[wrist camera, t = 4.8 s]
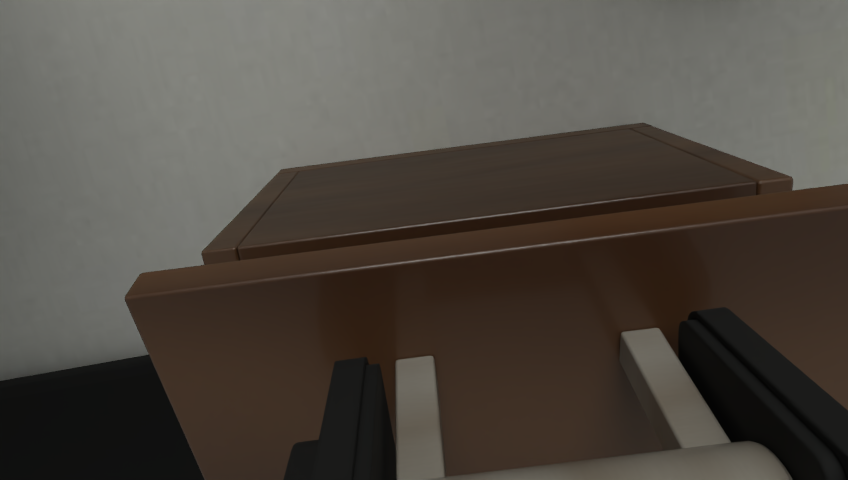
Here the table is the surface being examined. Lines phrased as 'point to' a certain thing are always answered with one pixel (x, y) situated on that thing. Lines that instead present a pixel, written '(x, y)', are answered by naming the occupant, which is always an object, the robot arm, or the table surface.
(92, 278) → the table surface
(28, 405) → the cell phone
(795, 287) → the lid
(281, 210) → the wooden box
